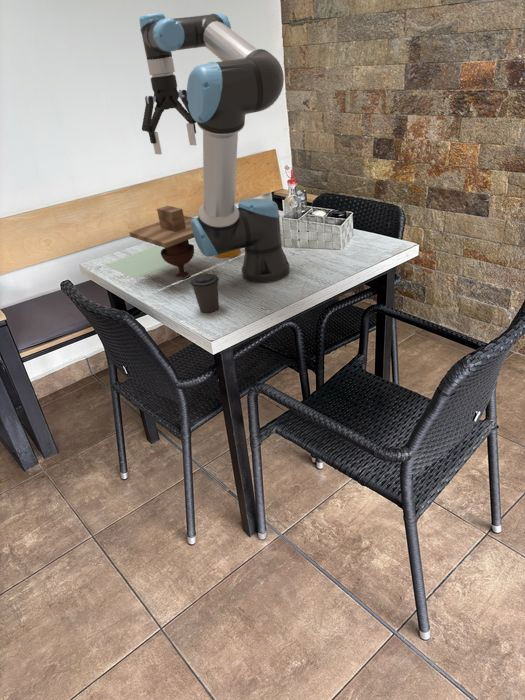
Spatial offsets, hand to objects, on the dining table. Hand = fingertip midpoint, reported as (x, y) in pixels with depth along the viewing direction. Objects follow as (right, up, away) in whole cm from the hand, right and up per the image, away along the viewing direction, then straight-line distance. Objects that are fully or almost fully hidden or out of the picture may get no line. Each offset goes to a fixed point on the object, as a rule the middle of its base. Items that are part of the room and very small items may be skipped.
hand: (176, 149), depth 169 cm
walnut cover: (0, -27, -3) cm, 27 cm away
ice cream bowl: (+1, -40, +5) cm, 40 cm away
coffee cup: (+13, -53, -18) cm, 57 cm away
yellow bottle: (+15, -31, +18) cm, 39 cm away
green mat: (-14, -33, +20) cm, 41 cm away
